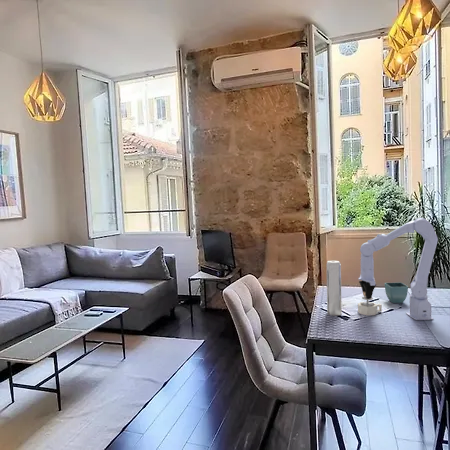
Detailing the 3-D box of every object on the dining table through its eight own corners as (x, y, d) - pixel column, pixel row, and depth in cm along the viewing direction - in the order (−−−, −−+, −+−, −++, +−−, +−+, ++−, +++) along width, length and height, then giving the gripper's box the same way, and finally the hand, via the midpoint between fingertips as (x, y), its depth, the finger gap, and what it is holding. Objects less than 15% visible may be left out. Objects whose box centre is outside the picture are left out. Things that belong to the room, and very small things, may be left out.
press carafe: (384, 314, 182) (384, 306, 182) (362, 315, 182) (362, 307, 182) (377, 309, 190) (377, 301, 190) (356, 310, 190) (356, 302, 190)
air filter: (342, 315, 183) (341, 262, 181) (327, 315, 184) (326, 262, 182) (341, 311, 189) (340, 259, 187) (327, 311, 190) (326, 260, 188)
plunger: (374, 305, 183) (374, 293, 183) (364, 306, 183) (364, 293, 183) (370, 303, 188) (370, 290, 187) (360, 303, 188) (360, 290, 187)
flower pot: (408, 304, 196) (408, 286, 196) (390, 304, 197) (390, 286, 196) (401, 299, 205) (401, 282, 204) (384, 299, 205) (384, 282, 205)
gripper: (353, 265, 191) (353, 293, 193) (364, 272, 177) (364, 301, 178) (368, 265, 191) (368, 292, 193) (379, 271, 177) (380, 301, 178)
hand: (367, 297), depth 185 cm, fingers closed on plunger, 3 cm apart
